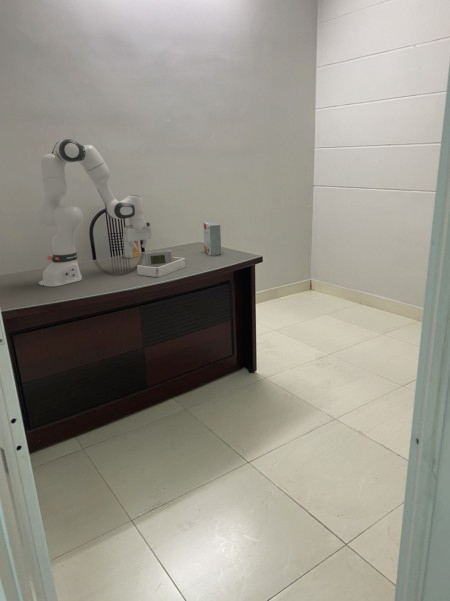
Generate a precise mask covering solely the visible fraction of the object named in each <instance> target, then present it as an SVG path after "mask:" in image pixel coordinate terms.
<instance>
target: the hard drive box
mask: <svg viewBox="0 0 450 601" xmlns="http://www.w3.org/2000/svg"><path fill="white" fill-rule="evenodd" d="M202 223H203V238H204V239H203V243H204V252H205V253H206V254H208V255H209V256H210V255H214V256H220V255H219V254H221V255H222V244H221V242H222V241H221V240H222V239H221V236H222V235H221V224H219V223H217V222H215V221H204V222H202Z"/></svg>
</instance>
